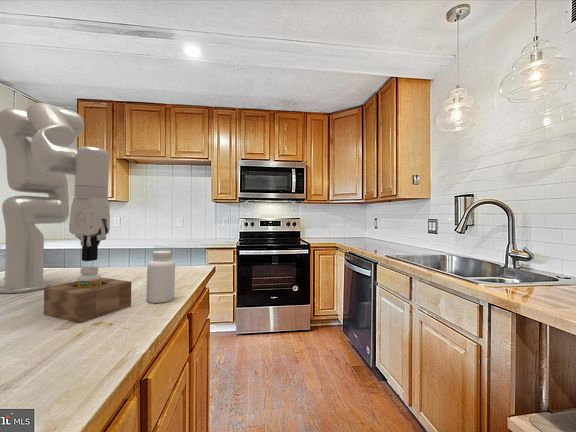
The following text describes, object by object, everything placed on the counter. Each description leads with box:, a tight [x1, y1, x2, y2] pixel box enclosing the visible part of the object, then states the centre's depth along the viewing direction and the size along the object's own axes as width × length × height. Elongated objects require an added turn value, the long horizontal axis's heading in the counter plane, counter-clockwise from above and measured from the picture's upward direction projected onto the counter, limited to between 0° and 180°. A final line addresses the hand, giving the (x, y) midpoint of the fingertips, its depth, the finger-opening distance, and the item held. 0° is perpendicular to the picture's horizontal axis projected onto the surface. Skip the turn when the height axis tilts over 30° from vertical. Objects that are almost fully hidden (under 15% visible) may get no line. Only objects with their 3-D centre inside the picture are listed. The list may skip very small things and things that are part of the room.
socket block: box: [43, 276, 132, 324], centre depth 76 cm, size 14×14×7 cm
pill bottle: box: [145, 250, 176, 304], centre depth 87 cm, size 8×8×15 cm
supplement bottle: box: [76, 265, 102, 289], centre depth 76 cm, size 5×5×10 cm
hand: (89, 260), depth 76 cm, fingers closed
